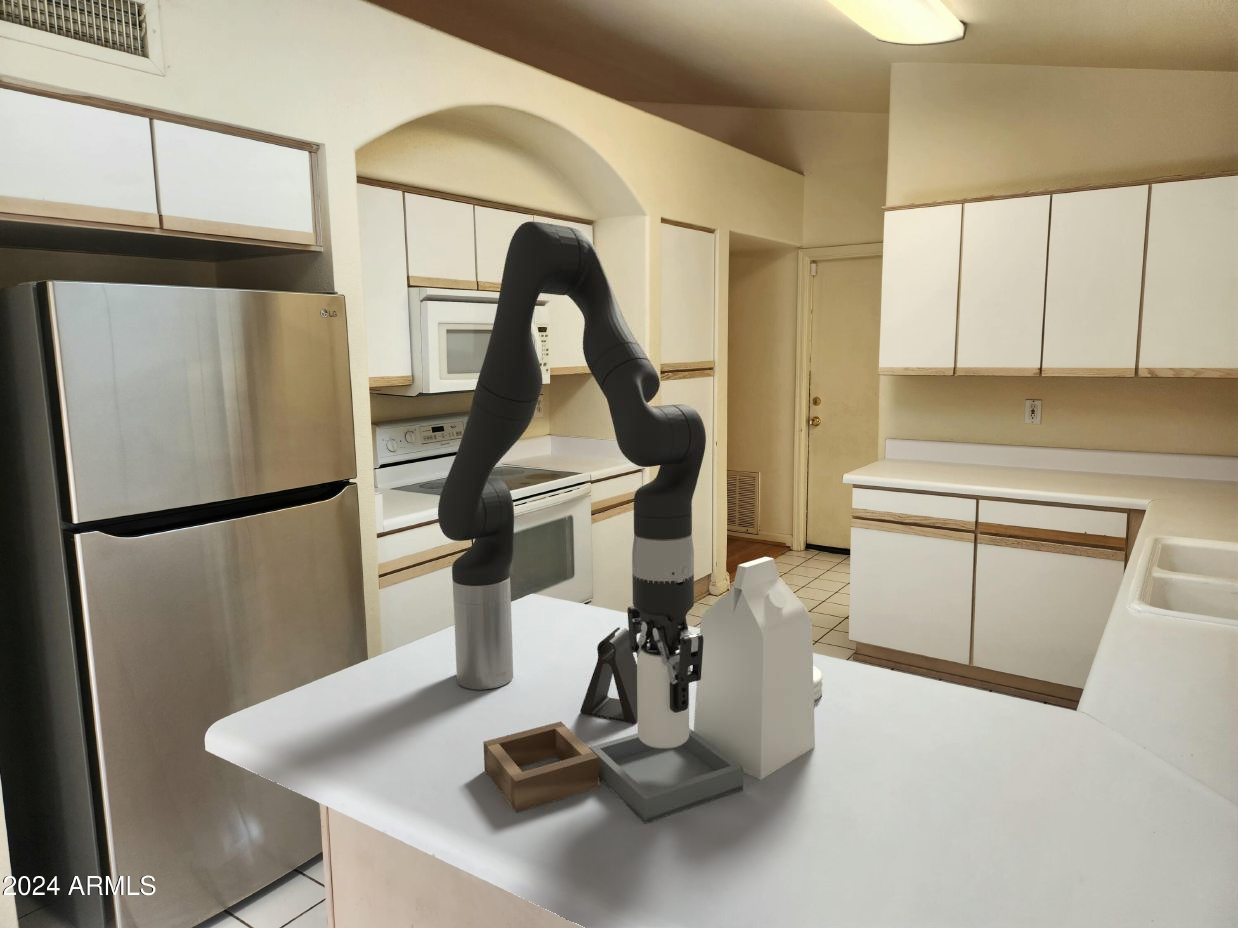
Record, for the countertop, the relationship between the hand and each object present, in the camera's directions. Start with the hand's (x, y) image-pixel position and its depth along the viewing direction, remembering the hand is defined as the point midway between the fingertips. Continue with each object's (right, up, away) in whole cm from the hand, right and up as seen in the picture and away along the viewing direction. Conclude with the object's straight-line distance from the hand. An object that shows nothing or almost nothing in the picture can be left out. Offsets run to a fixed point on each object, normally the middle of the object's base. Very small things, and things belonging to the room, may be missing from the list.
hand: (663, 699), depth 100 cm
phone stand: (-6, -8, +21) cm, 23 cm away
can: (0, -5, +1) cm, 5 cm away
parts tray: (0, -11, +2) cm, 11 cm away
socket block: (-16, -11, +2) cm, 19 cm away
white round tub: (+21, -7, +27) cm, 35 cm away
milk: (+13, -9, +9) cm, 19 cm away
